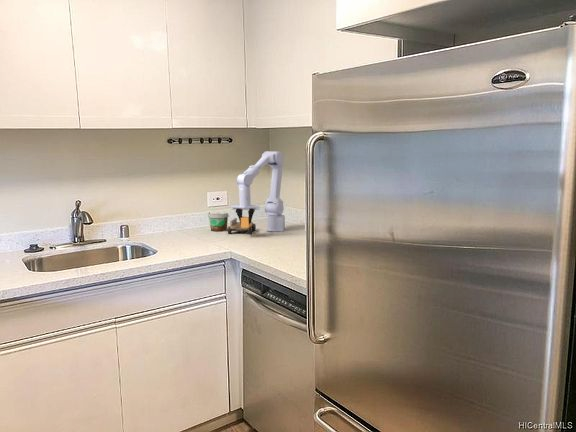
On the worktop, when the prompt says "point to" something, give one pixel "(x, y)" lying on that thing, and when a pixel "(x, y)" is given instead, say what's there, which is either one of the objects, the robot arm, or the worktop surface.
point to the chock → (245, 222)
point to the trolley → (239, 227)
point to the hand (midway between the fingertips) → (245, 223)
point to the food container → (218, 222)
